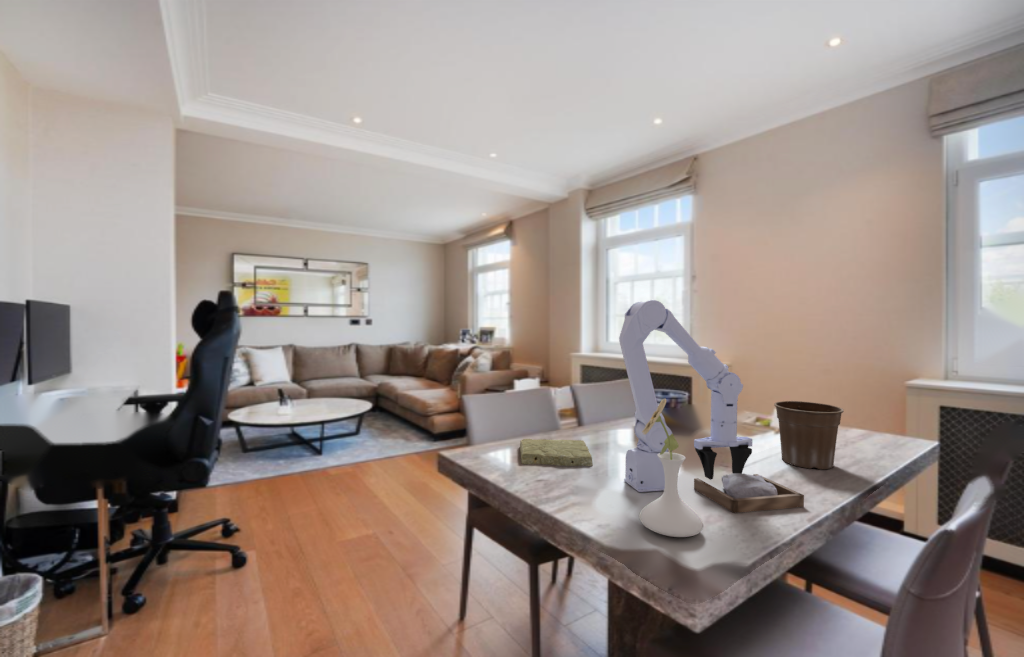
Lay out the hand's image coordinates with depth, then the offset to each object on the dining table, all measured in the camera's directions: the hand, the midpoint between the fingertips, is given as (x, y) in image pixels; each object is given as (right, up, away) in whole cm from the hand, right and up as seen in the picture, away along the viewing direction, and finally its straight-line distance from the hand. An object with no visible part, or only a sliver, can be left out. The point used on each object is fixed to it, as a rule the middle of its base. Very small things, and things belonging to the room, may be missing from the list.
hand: (722, 477), depth 107 cm
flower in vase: (-22, -2, -24) cm, 32 cm away
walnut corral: (+2, -2, -8) cm, 8 cm away
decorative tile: (-38, -2, +22) cm, 45 cm away
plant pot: (+32, -2, +18) cm, 37 cm away
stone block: (+2, -3, -6) cm, 7 cm away
